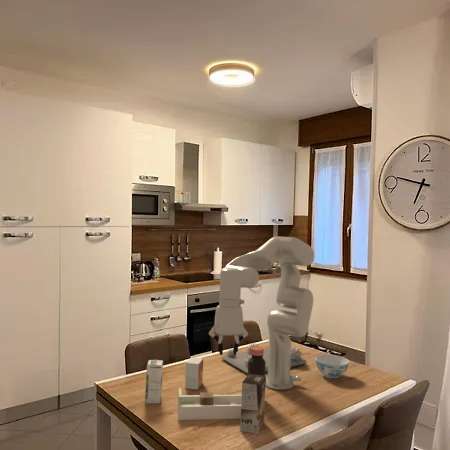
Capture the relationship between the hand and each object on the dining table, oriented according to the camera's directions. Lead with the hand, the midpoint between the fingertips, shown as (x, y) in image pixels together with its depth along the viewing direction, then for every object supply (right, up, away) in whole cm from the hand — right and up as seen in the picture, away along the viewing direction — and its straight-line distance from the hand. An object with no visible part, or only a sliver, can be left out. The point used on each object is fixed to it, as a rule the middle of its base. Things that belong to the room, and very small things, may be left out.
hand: (227, 353), depth 152 cm
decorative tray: (+18, -22, +56) cm, 63 cm away
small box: (-14, -21, +24) cm, 35 cm away
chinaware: (+47, -23, +41) cm, 67 cm away
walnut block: (-8, -19, -1) cm, 20 cm away
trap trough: (-4, -21, 0) cm, 22 cm away
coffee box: (+8, -22, -9) cm, 25 cm away
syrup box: (-28, -21, +8) cm, 36 cm away
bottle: (+11, -22, +12) cm, 27 cm away
